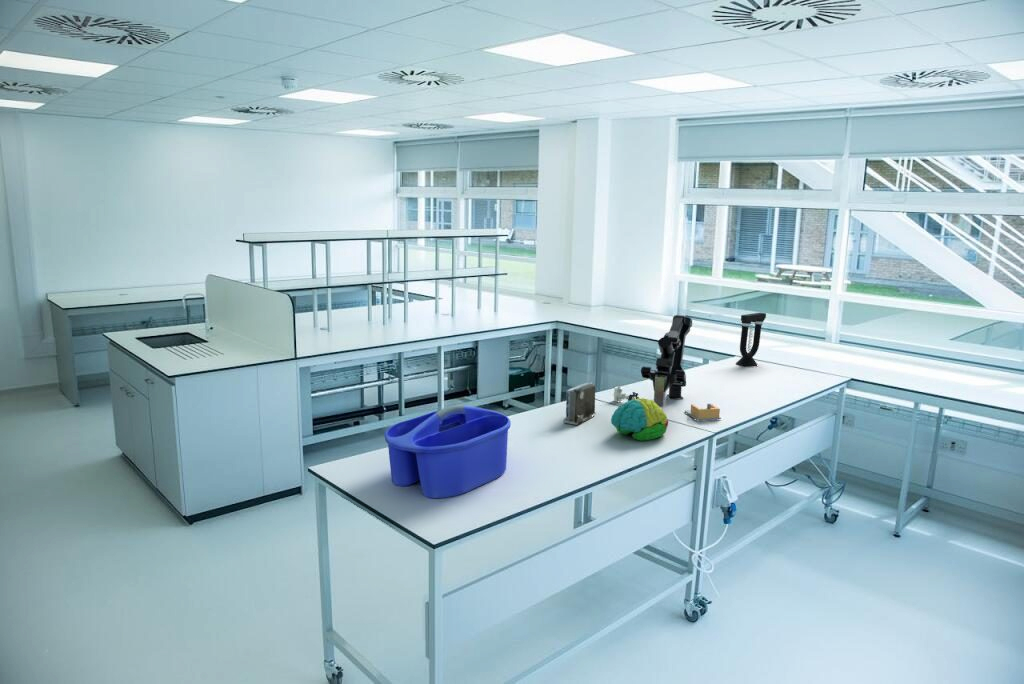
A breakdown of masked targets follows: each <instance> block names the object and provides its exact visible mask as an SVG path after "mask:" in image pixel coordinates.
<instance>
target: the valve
mask: <svg viewBox="0 0 1024 684" xmlns="http://www.w3.org/2000/svg"><path fill="white" fill-rule="evenodd" d="M613 390H614V392H613V397H614V398H613V402H614V401H617V402H616V403H619V402H618V401H623V400H627V401H630V400H635V399H637V398H638V399H640V397H639V393H636V392H635V391H632V394H629V395H627V394H626V393H625V392H623V387H622V386H615V387H614V389H613Z"/></svg>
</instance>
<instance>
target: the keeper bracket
mask: <svg viewBox="0 0 1024 684" xmlns="http://www.w3.org/2000/svg"><path fill="white" fill-rule="evenodd" d="M720 410H721V408H720V407H717V406H716V405H714V403H707V405H706V408H704V407H703V408H700V407H699V406H697V405H696V404H693V403H692V404H690V409H687V410H684V414H686V413H687V414H688V415H687V414H686V415H687V416H689V415H690V416H691V417H693V418H694V419H696V420H708V421H718V420H717V419H721V420H722V417H720V412H721V411H720ZM690 416H689V417H690ZM691 417H690V418H691ZM693 418H692V419H693ZM694 419H693V420H694ZM696 420H695V421H696Z"/></svg>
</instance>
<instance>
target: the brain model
mask: <svg viewBox="0 0 1024 684" xmlns="http://www.w3.org/2000/svg"><path fill="white" fill-rule="evenodd" d="M610 423H611V424H612V425H613V427H614V428H615V429H616V431H617V432H619V433H620V434H622V435H624V436H625V435H628V434H629V433H632V436H631V437H632V438H633V439H635V440H637V441H643V442H644V441H649V440H653V439H654V440H655V439H657V438H660V437H663V436H664V434H665V433H666V432H667V429H668V425H669V419H668V416H667V413H666V412H665V410H663V409H662V407H659V406H658V405H657V404H656V403H655V402H654V400H653V399H652V400H651V399H648V398H645V397H643V398H639V399H638V398H637V399H636V398H635V400H630V401H628V400H627V401H625V402H624V403H622V404H621V405H619V406H618V407H617V408H616V409H615V410H614V412H613V414H612V415H611V418H610Z"/></svg>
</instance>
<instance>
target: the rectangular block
mask: <svg viewBox="0 0 1024 684" xmlns="http://www.w3.org/2000/svg"><path fill="white" fill-rule="evenodd" d="M666 377H667V376H666V375H656V376H655V388H653V393H654V394H653V401H654V402H655V403H656V404H657V405H658V406H659V408H664V406H665V405H666V397H667V396H666V395H667V391H666V392H664V388H665V385H666Z"/></svg>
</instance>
